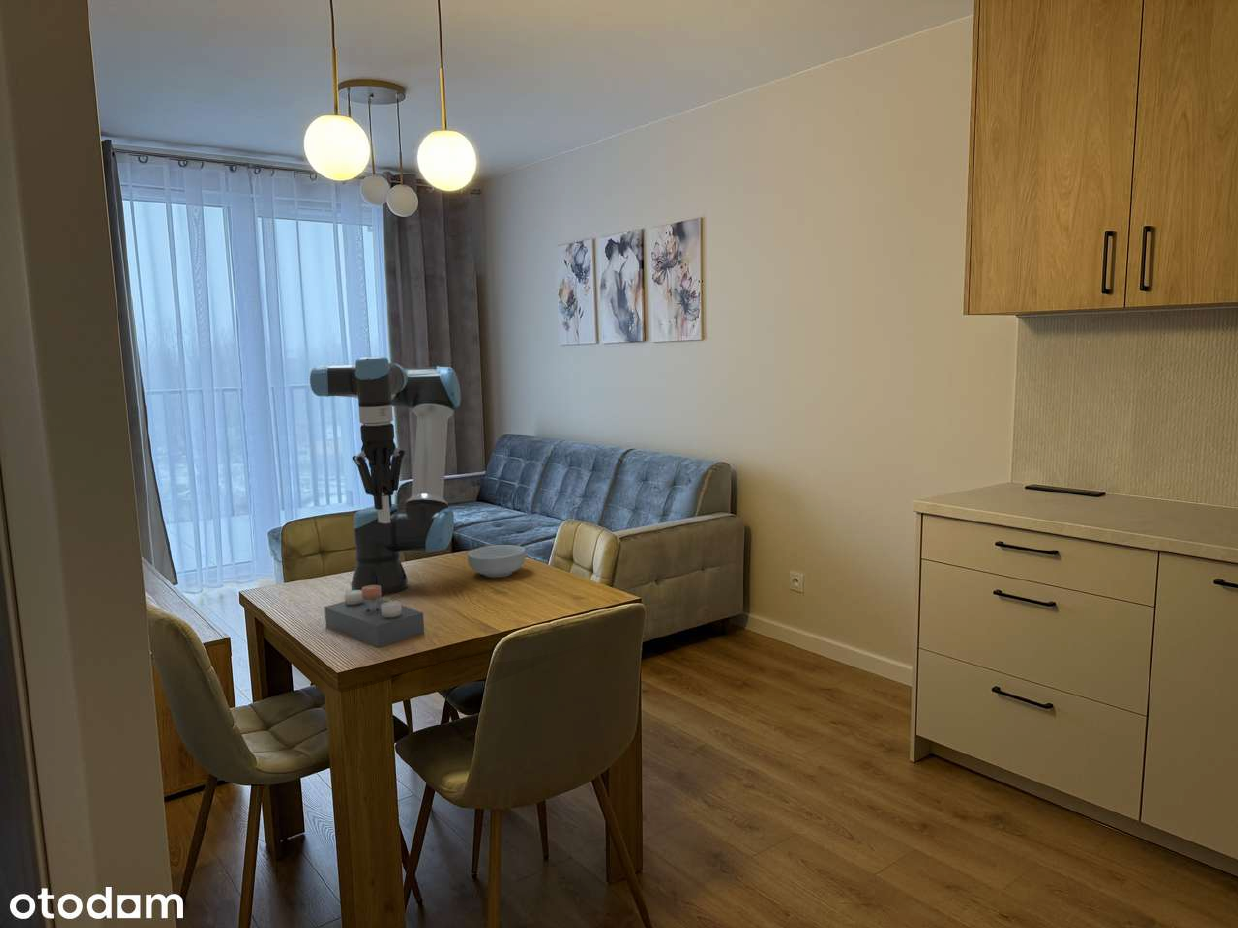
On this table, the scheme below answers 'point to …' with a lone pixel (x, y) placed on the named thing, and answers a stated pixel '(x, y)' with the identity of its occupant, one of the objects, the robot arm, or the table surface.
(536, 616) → the table surface
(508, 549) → the cereal bowl
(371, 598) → the rust knob middle
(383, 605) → the cream knob
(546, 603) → the table surface
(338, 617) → the knob panel
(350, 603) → the cream knob
